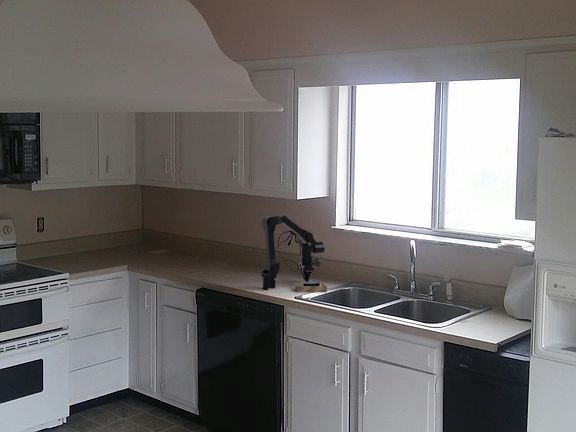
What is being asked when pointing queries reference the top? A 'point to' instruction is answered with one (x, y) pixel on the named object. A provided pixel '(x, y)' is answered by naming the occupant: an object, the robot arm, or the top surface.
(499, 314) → the top surface
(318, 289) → the frame
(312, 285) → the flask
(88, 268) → the top surface
